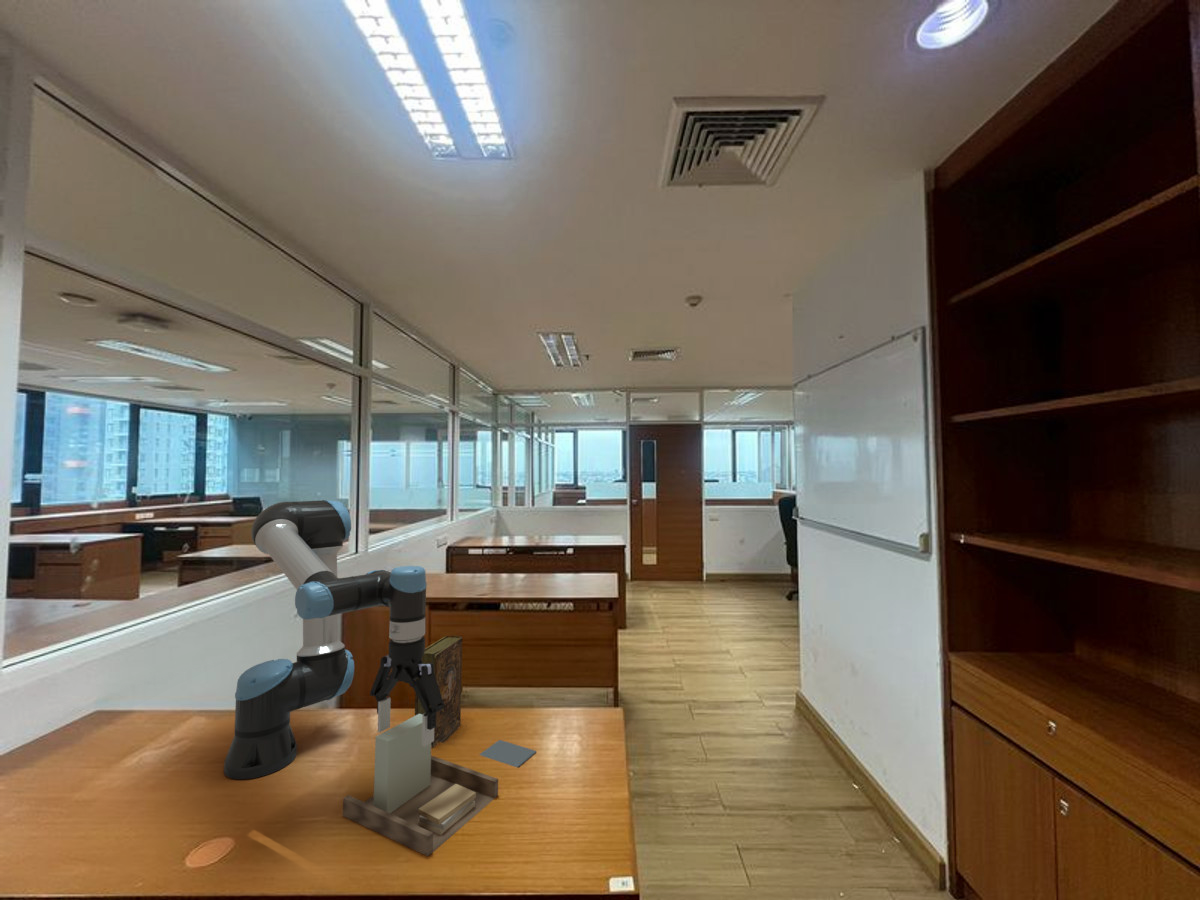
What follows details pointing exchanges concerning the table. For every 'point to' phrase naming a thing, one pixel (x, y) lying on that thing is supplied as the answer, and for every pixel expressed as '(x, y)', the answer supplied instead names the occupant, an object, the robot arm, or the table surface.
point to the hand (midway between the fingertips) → (405, 736)
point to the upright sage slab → (400, 764)
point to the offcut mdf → (445, 822)
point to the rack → (406, 817)
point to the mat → (508, 753)
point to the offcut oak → (446, 803)
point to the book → (445, 685)
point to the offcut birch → (440, 831)
